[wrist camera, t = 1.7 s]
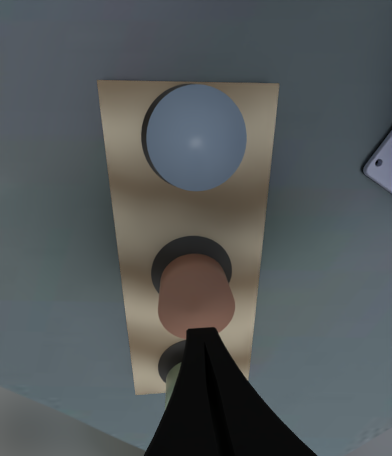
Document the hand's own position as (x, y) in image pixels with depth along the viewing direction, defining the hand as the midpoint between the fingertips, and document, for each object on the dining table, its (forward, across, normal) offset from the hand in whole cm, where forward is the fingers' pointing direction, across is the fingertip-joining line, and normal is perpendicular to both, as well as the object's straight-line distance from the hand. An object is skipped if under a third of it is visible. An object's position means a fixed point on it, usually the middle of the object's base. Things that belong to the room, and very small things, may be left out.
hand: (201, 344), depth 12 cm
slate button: (+5, 0, -9) cm, 10 cm away
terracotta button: (+5, 0, 0) cm, 5 cm away
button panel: (+8, 0, 0) cm, 8 cm away
